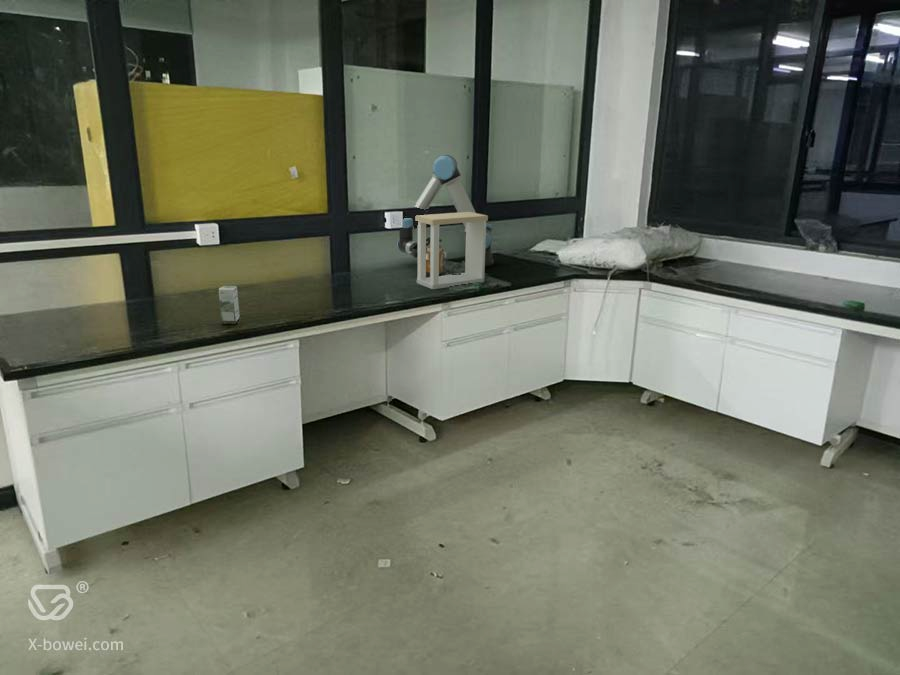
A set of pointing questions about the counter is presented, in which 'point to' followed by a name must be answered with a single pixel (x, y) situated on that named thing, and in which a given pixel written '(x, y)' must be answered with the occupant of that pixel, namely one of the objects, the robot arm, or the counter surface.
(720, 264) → the counter surface
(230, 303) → the syrup box
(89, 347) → the counter surface
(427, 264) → the canister
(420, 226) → the under-counter shelf
